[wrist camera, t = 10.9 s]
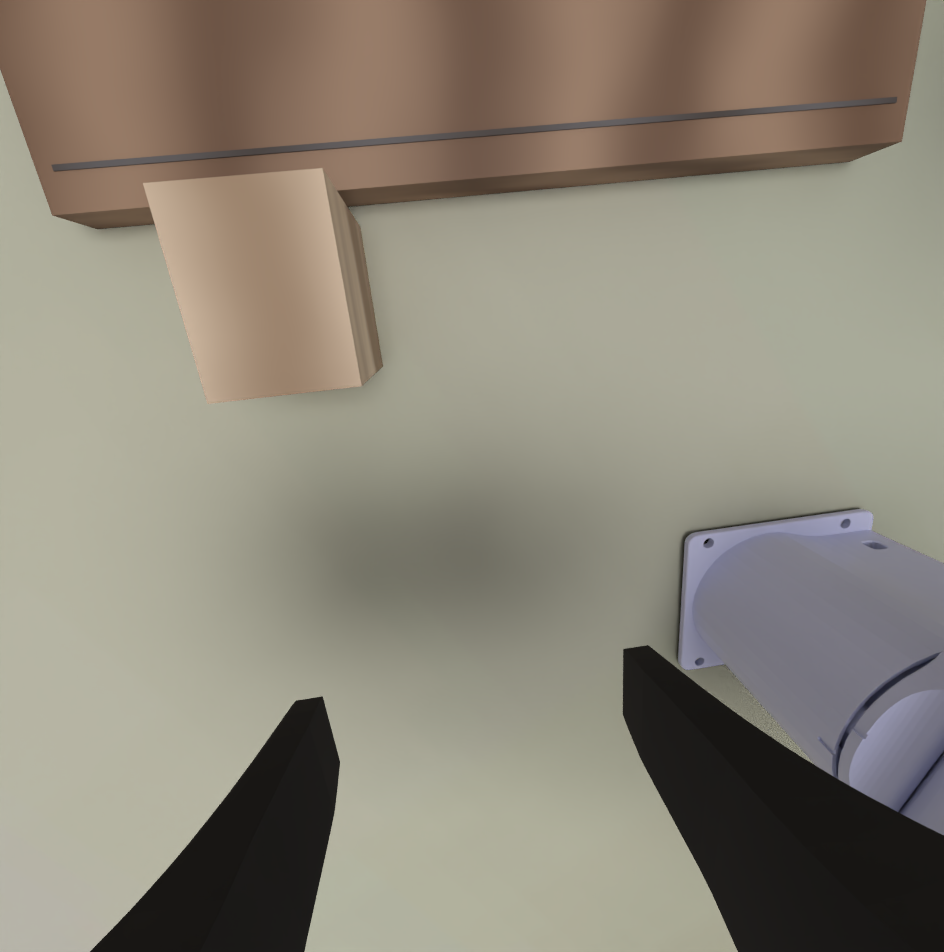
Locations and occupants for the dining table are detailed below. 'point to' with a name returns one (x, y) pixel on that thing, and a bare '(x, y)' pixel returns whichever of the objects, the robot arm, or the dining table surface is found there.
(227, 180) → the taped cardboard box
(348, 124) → the board
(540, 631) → the dining table surface
